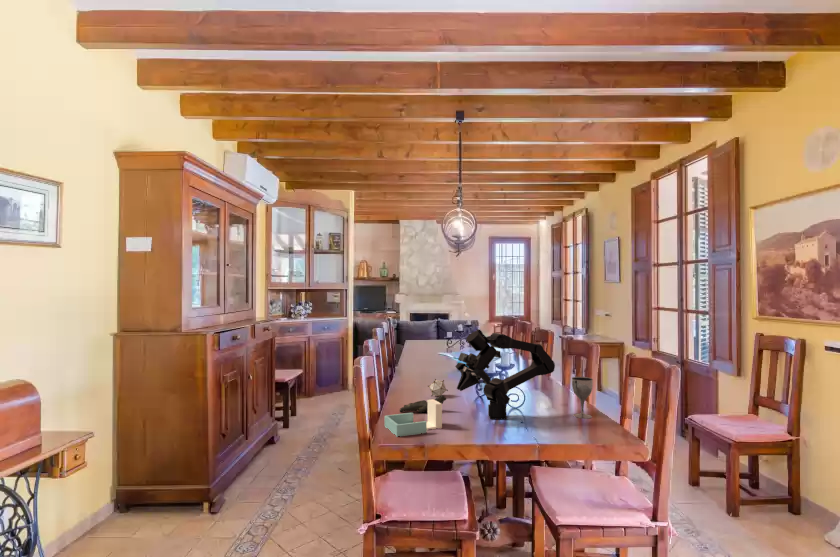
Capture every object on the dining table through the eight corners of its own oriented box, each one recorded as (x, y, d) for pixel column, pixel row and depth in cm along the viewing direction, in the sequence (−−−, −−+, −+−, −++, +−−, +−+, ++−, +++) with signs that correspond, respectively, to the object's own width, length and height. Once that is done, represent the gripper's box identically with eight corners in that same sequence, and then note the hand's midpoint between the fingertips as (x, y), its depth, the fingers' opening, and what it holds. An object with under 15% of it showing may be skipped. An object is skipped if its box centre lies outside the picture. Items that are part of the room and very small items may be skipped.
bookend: (433, 422, 183) (433, 399, 183) (442, 428, 176) (441, 403, 176) (410, 425, 179) (410, 401, 179) (418, 431, 172) (418, 406, 172)
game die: (434, 403, 227) (429, 384, 232) (451, 397, 226) (445, 378, 231) (429, 398, 219) (424, 378, 225) (446, 392, 218) (440, 372, 224)
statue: (401, 420, 195) (449, 409, 197) (399, 408, 194) (446, 397, 196) (400, 414, 201) (445, 403, 203) (397, 402, 200) (443, 391, 202)
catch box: (412, 422, 182) (412, 412, 183) (426, 432, 170) (426, 421, 170) (384, 426, 178) (384, 415, 178) (396, 436, 166) (396, 425, 166)
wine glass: (593, 414, 193) (593, 377, 193) (592, 419, 186) (591, 381, 186) (573, 412, 197) (573, 376, 197) (570, 417, 189) (570, 379, 190)
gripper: (459, 342, 194) (435, 371, 189) (483, 348, 177) (456, 380, 172) (476, 360, 197) (452, 389, 192) (501, 367, 180) (475, 400, 175)
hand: (458, 389), depth 183 cm, fingers closed
